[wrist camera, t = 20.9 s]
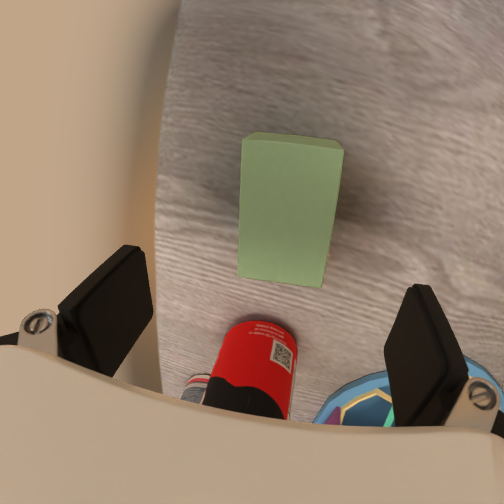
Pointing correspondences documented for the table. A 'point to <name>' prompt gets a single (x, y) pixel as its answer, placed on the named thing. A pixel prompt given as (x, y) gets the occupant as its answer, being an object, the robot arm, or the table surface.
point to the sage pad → (287, 207)
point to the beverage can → (254, 371)
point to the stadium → (376, 400)
